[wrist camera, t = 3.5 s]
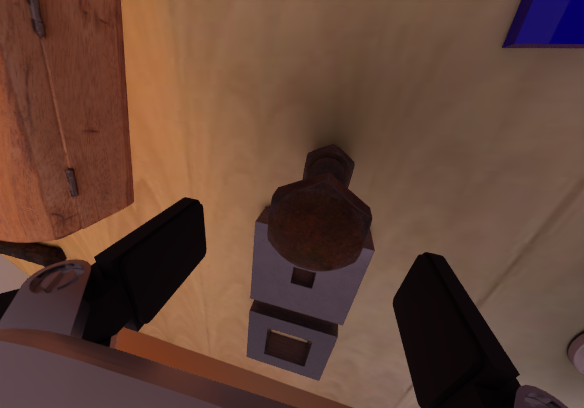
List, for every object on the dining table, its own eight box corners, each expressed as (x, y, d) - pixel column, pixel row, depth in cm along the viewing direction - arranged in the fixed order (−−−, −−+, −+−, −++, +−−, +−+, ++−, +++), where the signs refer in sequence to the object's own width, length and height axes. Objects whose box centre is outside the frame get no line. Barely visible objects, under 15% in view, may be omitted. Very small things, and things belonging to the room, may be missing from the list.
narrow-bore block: (370, 230, 27) (374, 250, 23) (342, 301, 33) (342, 325, 30) (266, 206, 28) (255, 221, 25) (259, 278, 35) (250, 298, 32)
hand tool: (63, 245, 44) (35, 260, 40) (70, 259, 46) (43, 275, 42) (-8, 223, 46) (-42, 235, 42) (1, 237, 48) (-30, 250, 44)
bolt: (345, 187, 25) (348, 286, 12) (304, 178, 25) (263, 263, 12) (360, 137, 22) (384, 194, 9) (313, 128, 23) (272, 170, 10)
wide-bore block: (338, 313, 35) (337, 337, 31) (321, 357, 41) (319, 380, 38) (258, 290, 37) (249, 310, 33) (254, 335, 43) (246, 356, 40)
